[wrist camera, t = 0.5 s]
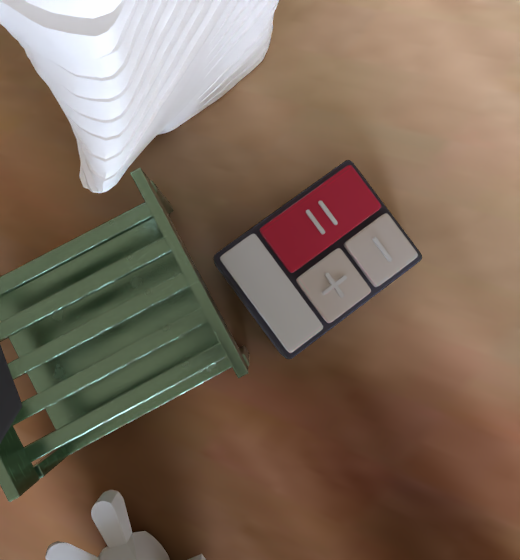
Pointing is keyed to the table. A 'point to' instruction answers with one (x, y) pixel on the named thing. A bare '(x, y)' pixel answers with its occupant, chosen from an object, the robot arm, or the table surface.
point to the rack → (108, 333)
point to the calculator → (317, 259)
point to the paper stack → (136, 66)
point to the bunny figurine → (114, 536)
